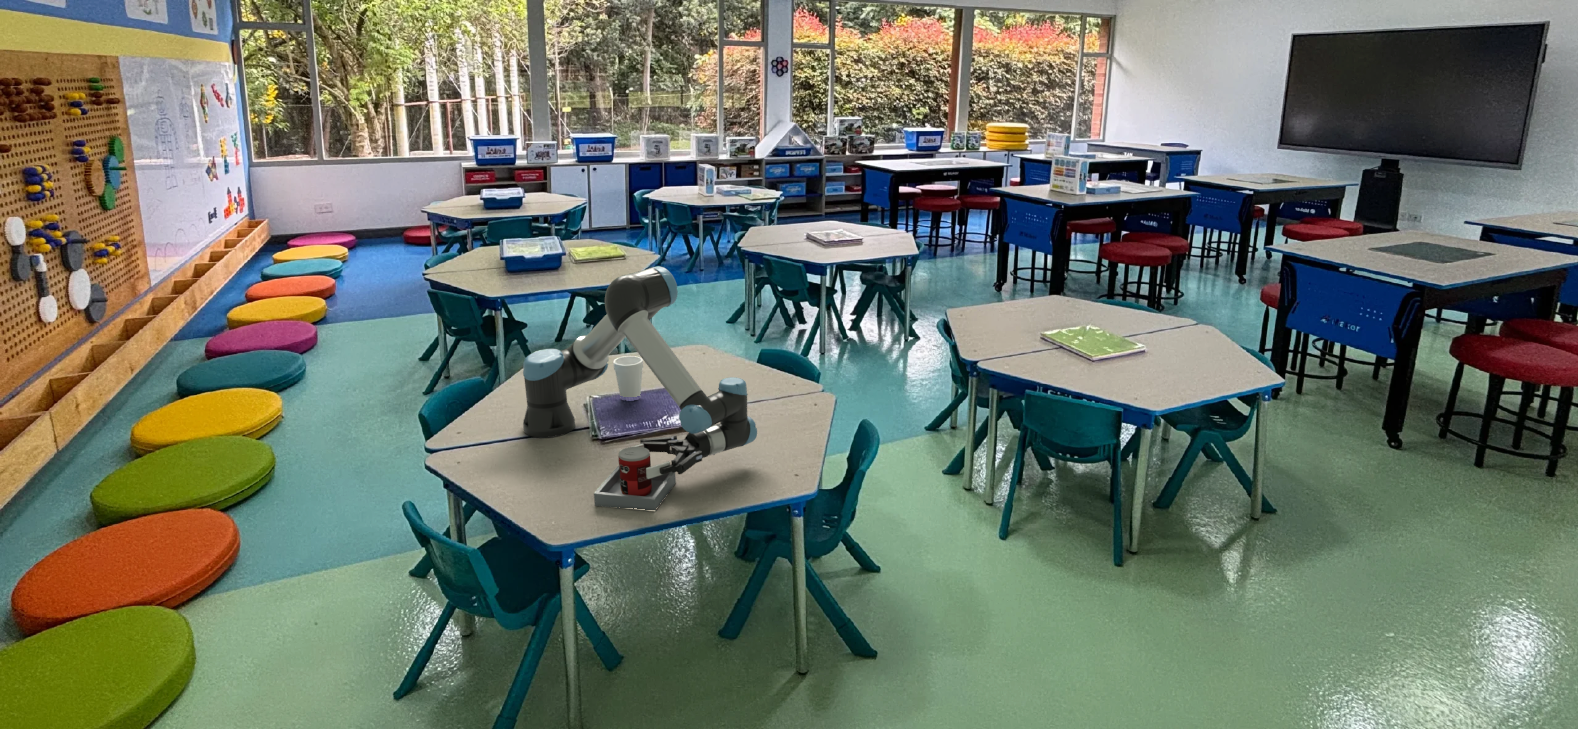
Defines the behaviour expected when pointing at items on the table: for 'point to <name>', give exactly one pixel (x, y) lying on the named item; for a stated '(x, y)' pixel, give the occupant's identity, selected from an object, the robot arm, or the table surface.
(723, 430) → the robot arm
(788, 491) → the table surface
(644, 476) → the canned food
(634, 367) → the foam cup
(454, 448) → the table surface
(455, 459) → the table surface
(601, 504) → the tray
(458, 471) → the table surface
